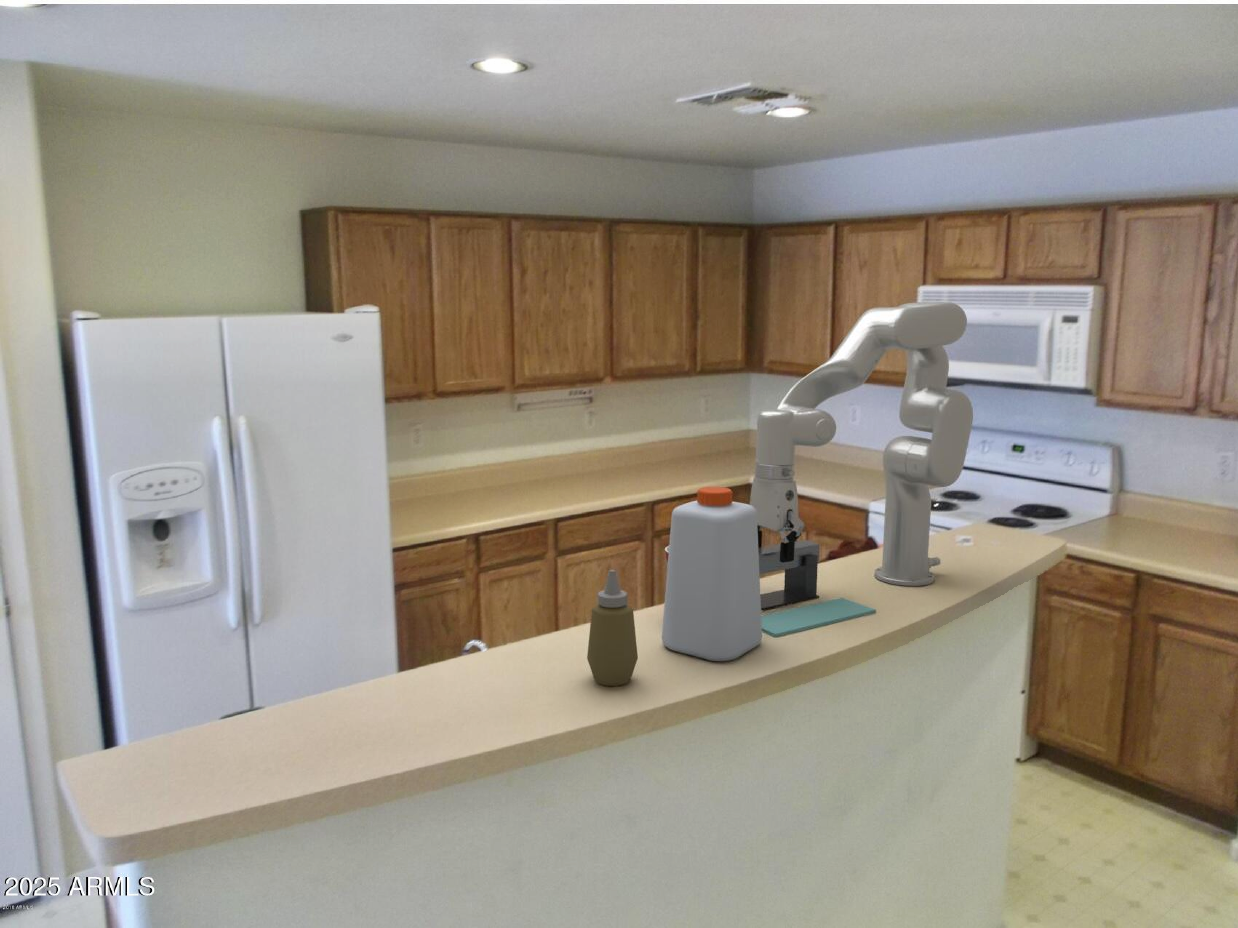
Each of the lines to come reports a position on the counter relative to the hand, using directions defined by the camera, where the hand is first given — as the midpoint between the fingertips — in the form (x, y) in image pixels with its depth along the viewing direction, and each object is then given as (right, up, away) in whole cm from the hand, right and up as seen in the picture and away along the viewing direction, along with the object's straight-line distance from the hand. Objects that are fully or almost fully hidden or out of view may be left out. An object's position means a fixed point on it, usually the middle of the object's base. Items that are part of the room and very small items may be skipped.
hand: (770, 555), depth 181 cm
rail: (0, -3, +1) cm, 3 cm away
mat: (+6, -11, -8) cm, 15 cm away
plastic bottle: (-14, -14, -22) cm, 29 cm away
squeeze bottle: (-31, -16, -37) cm, 51 cm away
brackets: (0, -10, +2) cm, 10 cm away
